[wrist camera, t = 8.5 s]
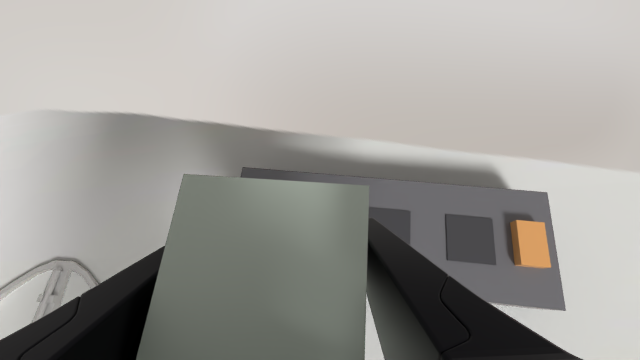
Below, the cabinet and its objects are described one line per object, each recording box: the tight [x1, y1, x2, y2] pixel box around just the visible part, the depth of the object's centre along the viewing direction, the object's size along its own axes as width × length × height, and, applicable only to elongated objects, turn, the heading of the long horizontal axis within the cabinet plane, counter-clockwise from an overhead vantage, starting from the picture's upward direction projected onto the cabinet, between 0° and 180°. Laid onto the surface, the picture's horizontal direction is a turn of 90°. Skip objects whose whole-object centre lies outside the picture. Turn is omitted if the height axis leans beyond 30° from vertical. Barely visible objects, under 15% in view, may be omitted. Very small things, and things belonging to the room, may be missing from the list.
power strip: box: [241, 167, 566, 311], centre depth 20 cm, size 20×7×4 cm, turn 84°
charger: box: [136, 174, 369, 360], centre depth 11 cm, size 4×4×10 cm
